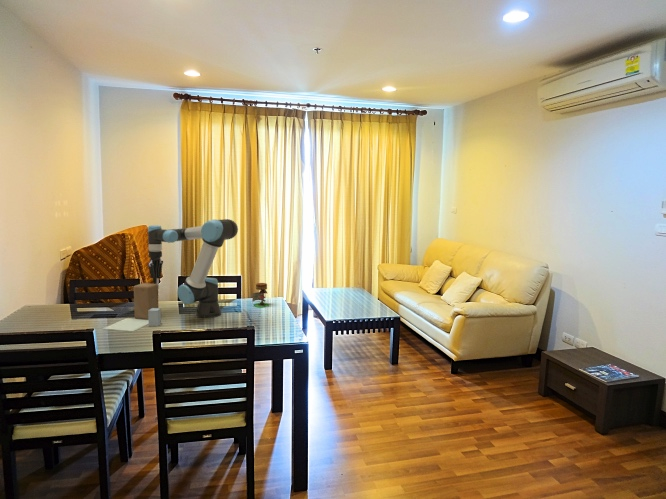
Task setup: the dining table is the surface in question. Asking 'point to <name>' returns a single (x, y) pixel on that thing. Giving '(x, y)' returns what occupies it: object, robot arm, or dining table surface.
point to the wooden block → (145, 299)
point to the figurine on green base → (260, 295)
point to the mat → (128, 325)
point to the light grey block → (154, 316)
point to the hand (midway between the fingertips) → (156, 288)
